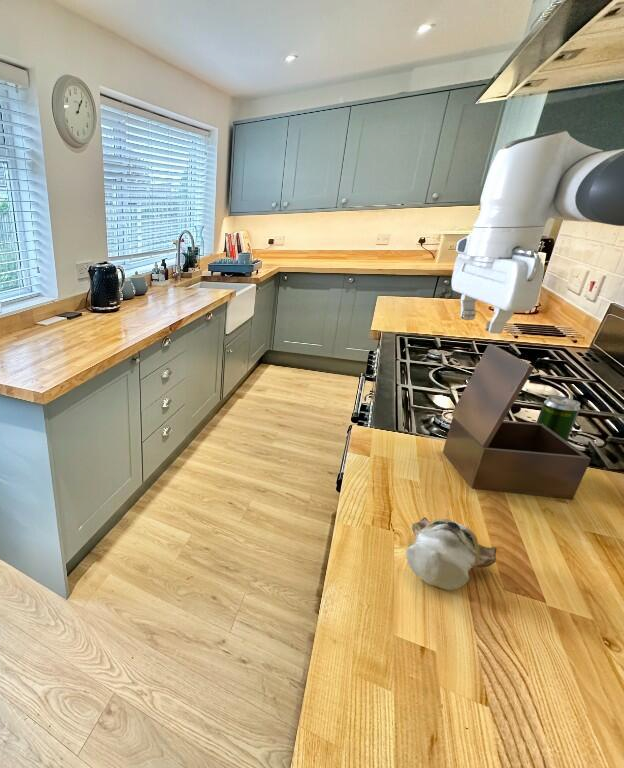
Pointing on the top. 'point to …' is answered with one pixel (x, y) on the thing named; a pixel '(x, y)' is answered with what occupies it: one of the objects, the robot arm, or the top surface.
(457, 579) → the ceramic sculpture
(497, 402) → the box lid
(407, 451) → the top surface
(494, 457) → the keepsake box
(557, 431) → the beer can
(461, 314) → the robot arm
